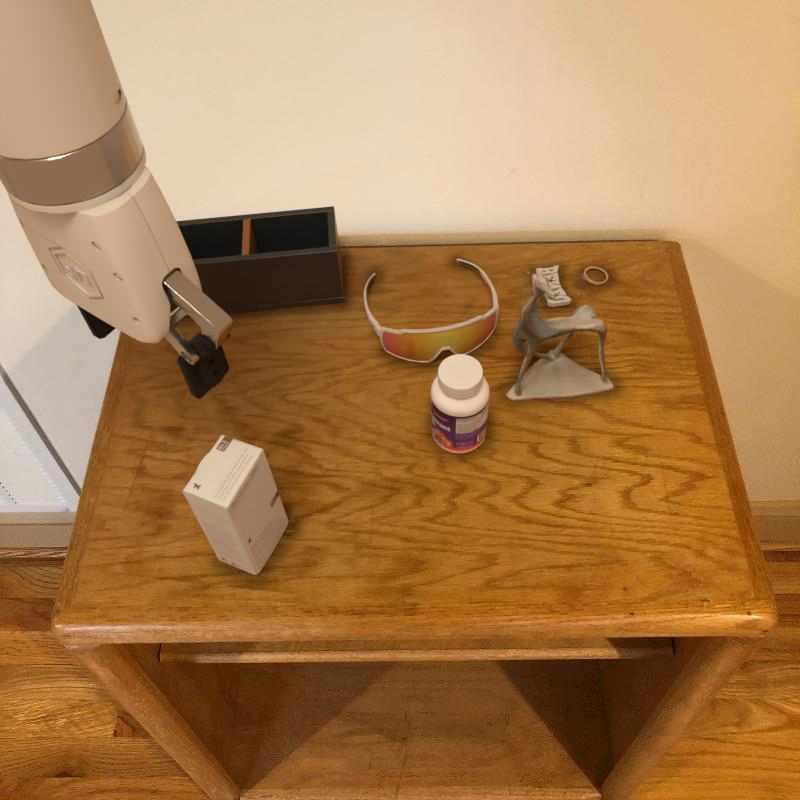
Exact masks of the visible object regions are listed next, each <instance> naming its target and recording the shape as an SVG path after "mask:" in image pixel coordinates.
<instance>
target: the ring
mask: <svg viewBox="0 0 800 800" xmlns="http://www.w3.org/2000/svg"><path fill="white" fill-rule="evenodd" d="M592 269H593V270H594V269H595V270H598V271H600V272H603V274H604V275H605V277H606V278H605V280H603V281H595V280H592V279H590V278H589V277H588V275H587V272H588V271H589V270H592ZM581 275H582V282H585V281H586V282H587V283H590V284H591V285H596V286H599V285H600V286H601V285H603V284H606V283H607V281H608V280H609V274H608V272H607V271H606V270H605V269H604V268H602V267H599V266H593V265H592V266H587V267H586V268H585V269H584V271H583V273H581Z"/></svg>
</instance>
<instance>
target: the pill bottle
mask: <svg viewBox="0 0 800 800" xmlns="http://www.w3.org/2000/svg"><path fill="white" fill-rule="evenodd" d="M489 406H490V386H489V383H488V381H487V379H486V378H485V377H484V369H483V366H482V364H481V363H480V361H479V360H477V359H476V358H475V357H473V356H471V355H469V354H466V355H465V354H456V355H454V354H451V355H450V356H447V357H446V358H444V359H443V360H442V361H441V362H440V363H439V366H438V368H437V375H436V377H435V378H434V379H433V381H432V383H431V386H430V424H431V429H430V430H431V434H432V435H431V436H432V437H433V440H434V441H435V443H436V444H437V445H438V446H439V447H440V448H441V449H442V450H444V451H446V452H449V453H452V454H466V453H470V452H473V451H475V450H477V448H479V447H480V446H481V445H482V444H483V442H484V441H485V439H486V436H487V432H488V431H487V430H488V421H489V420H488V419H489V418H488V417H489Z"/></svg>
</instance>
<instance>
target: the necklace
mask: <svg viewBox="0 0 800 800" xmlns="http://www.w3.org/2000/svg"><path fill="white" fill-rule="evenodd" d="M559 268H560V265H559V264H557V265H553V266H550V267H543V268H542V267H537V268H535V274H539V273H543V274H544V277H545V278H546V279H547V281H548V284H549V286H550V287H551V289H552V290H553V291H554V292H555V293H556V298H555V299H554V300H550V299H549V298H548V297H547V295H546V293H543V294H542V295H540V299H539V301H538V302H537V307H538V306H540V303H541V302H542V299H543V297H544V299H545V301H546V305H547V306H548V307H551V308H555V307H561V306H569V305H570V304H571V303H572V298H571V297H570V296H568V295H567V293H566V292H565V290H564V289H563V288H562V285H561V283H560V279H559ZM515 270H520V271H522V272H524V273H526V274H528V275H530V277H531V276H532V274H533V273H531V272H529V271H527V270H525V269H522V268H518V267H515Z"/></svg>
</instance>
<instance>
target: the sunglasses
mask: <svg viewBox="0 0 800 800" xmlns="http://www.w3.org/2000/svg"><path fill="white" fill-rule="evenodd" d="M456 262H457V263H458V264H459V265H461V266H464V267H467V268H469V269H472V270H474V271H475V272H476V273H478V274H479V275H480V276H481V278H483V281H485V283H486V284H487V286H488V287H489V289H490V291H491V295H492V308H491V309H490V310H488V311H487V312H486V313H484V314H479V315H477V316H475V317H473V318H470V319H467V320H465V321H462V322H458V323H454V324H450V325H445V326H438V327H432V328H419V329H417V328H416V329H415V328H401V329H395V328H390V327H387V326H386V327H385V326H382V325H381V324H380V323H379V322H378V320H377V319H376V318H375V316H374V314H372V312H371V310H370V307H369V304H368V299H367V298H368V297H367V296H368V290H369V288H370V285H371V284H372V282H373V281H374V280H375V279H376V276H377V275H376V272H373V273H372V274H371V275H370V277H369V278H368V279H367V280H366V282H365V285H364V289H363V303H364V304H363V305H364V308H365V313H366V316H367V319H368V322H369V324H370V326H371V328H372V329H373V330H374V331H375V333H376V335H377V336H378V337H379V341H380V344H381V346H382V349H383V350H384V352H385V353H387V354H389V355H391V356H392V357H395V358H397V359H400V360H403V361H408V362H412V363H419V364H429V363H432V362H433V361H435V360H436V359H437V358H438V356H439V355H440V354H441V353H442V352H443V351H447V350H449V351H450V353H452V355H456V354H465V355H469V354H471V353H472V352H474V351H475V350H477V349H479V348H480V346H482V345H483V344H484V343H485V342H487V340H488V339H489V338H490V337H491V336H492V335H493V333H494V331H495V329H496V327H497V325H498V318H499V315H500V307H499V298H498V294H497V291H496V288H495V287H494V284H493V282H492V281H491V279H490V278H489V276H488V275H487V273H486V272H485V271H484V270H483V269H482V268H481V267H479V266H478V265H477V264H475V263H474V262H470V261H468V260H464V259H461V258H456Z"/></svg>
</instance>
